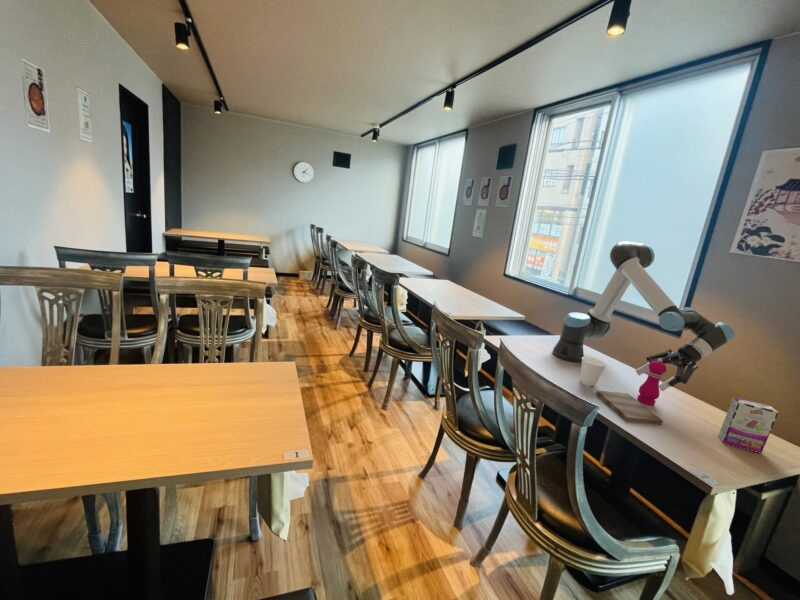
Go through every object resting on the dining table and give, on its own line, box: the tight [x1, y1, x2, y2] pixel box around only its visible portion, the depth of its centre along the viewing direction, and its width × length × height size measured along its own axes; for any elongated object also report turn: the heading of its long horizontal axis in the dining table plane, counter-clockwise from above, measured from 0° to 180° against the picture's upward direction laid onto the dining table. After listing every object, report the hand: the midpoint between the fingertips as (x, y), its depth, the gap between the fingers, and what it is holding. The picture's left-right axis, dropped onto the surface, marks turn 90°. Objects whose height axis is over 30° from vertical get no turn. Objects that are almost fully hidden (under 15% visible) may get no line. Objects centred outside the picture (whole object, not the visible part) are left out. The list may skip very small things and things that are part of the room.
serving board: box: [595, 389, 664, 426], centre depth 145 cm, size 20×14×2 cm
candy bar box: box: [717, 396, 780, 454], centre depth 129 cm, size 11×5×16 cm, turn 68°
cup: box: [579, 356, 607, 387], centre depth 163 cm, size 10×10×11 cm
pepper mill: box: [636, 358, 667, 407], centre depth 152 cm, size 7×7×20 cm
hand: (648, 380), depth 152 cm, fingers open, 13 cm apart
